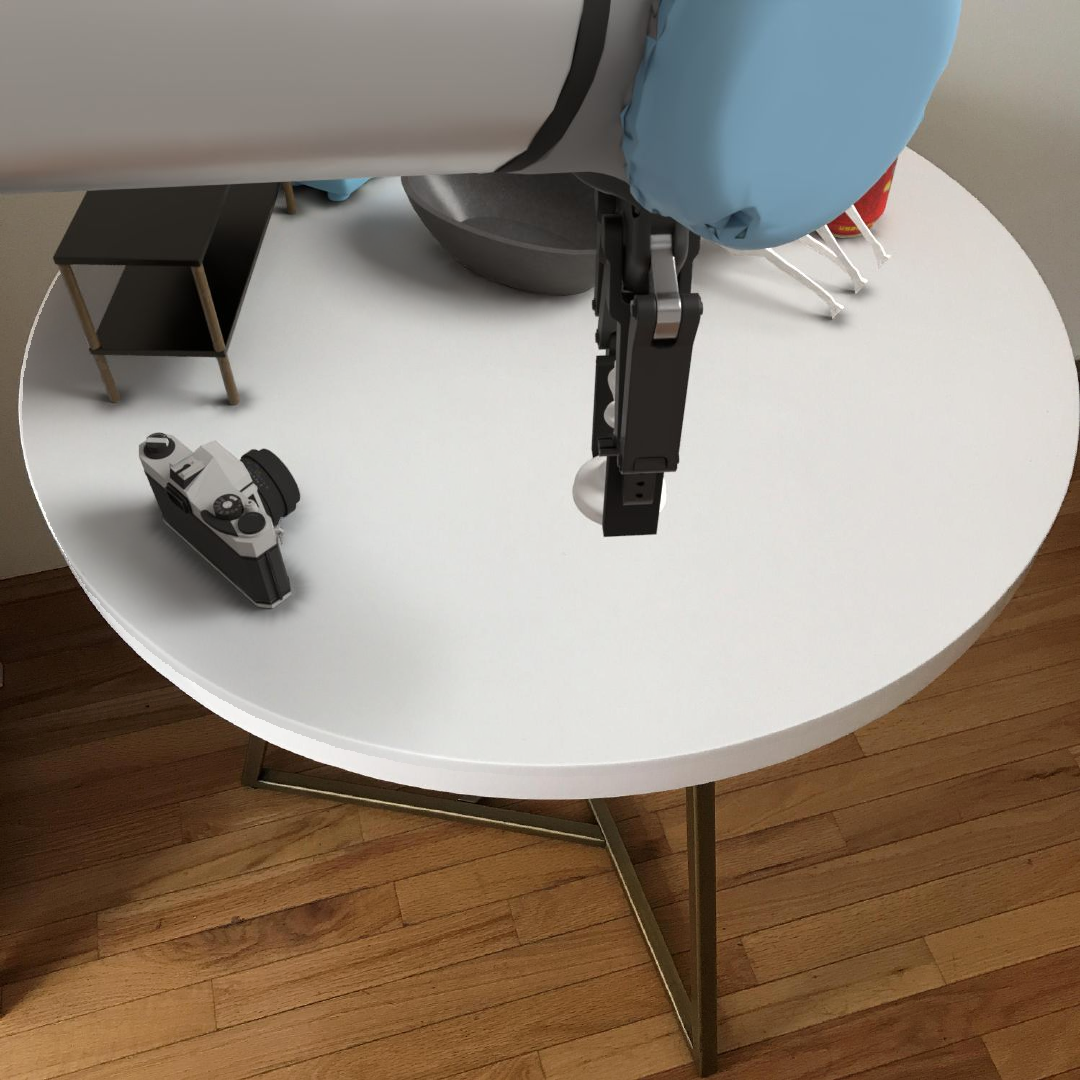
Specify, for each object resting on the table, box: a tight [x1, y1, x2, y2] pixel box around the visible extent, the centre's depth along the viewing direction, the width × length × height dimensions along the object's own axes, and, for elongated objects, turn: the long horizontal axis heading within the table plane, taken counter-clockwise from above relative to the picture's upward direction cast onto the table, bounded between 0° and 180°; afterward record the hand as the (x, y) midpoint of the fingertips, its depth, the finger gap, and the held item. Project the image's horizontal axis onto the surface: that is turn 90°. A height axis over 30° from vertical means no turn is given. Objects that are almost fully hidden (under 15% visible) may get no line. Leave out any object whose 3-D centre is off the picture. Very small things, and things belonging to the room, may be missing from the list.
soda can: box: [826, 156, 899, 239], centre depth 99 cm, size 7×7×12 cm
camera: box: [138, 432, 301, 609], centre depth 77 cm, size 13×8×9 cm, turn 49°
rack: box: [52, 181, 298, 406], centre depth 92 cm, size 26×10×13 cm, turn 178°
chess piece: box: [571, 361, 667, 526], centre depth 57 cm, size 5×5×10 cm
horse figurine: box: [717, 205, 892, 320], centre depth 97 cm, size 5×16×25 cm
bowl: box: [400, 172, 598, 296], centre depth 97 cm, size 12×22×6 cm, turn 60°
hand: (622, 489), depth 61 cm, fingers closed on chess piece, 5 cm apart
